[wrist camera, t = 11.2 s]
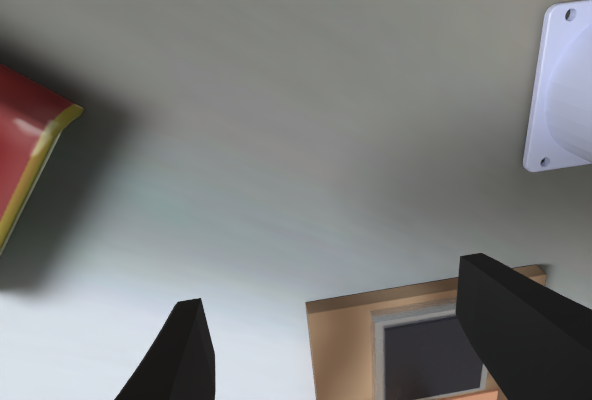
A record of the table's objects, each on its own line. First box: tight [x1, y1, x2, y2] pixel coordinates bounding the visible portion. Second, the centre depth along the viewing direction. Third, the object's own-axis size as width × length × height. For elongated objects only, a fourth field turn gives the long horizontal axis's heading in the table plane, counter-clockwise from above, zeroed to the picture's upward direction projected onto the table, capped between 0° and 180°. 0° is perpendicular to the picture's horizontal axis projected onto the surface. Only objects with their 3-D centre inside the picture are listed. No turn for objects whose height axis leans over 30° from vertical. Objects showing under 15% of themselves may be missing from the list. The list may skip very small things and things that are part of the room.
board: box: [306, 265, 547, 400], centre depth 29 cm, size 14×18×1 cm
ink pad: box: [370, 296, 488, 400], centre depth 26 cm, size 7×7×1 cm
